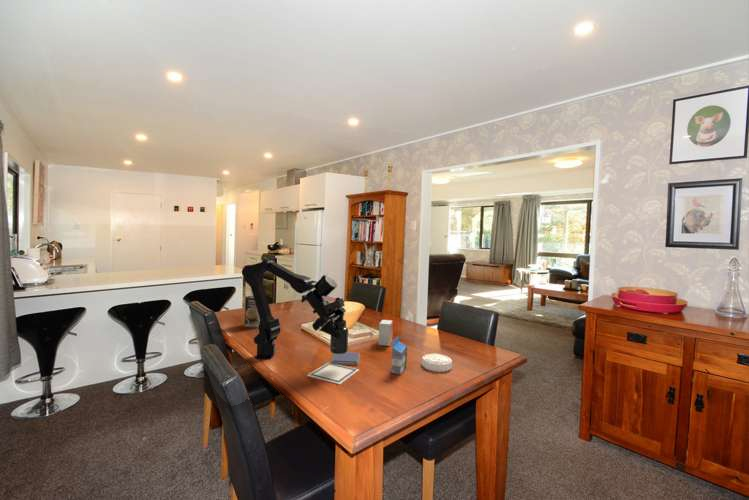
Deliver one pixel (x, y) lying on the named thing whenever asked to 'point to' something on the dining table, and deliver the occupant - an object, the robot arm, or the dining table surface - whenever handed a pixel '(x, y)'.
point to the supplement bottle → (342, 343)
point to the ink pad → (346, 359)
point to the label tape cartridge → (398, 356)
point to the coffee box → (251, 313)
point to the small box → (385, 332)
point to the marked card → (333, 373)
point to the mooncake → (436, 362)
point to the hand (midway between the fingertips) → (343, 335)
